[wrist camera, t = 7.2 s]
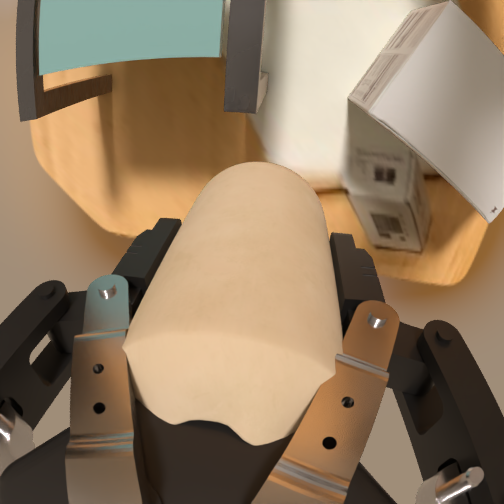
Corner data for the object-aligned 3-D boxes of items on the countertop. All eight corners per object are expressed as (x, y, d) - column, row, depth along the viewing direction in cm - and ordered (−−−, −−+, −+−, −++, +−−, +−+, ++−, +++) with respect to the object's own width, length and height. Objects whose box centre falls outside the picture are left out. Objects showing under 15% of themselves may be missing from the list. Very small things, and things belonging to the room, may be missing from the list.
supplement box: (510, 110, 26) (559, 133, 18) (452, 187, 33) (490, 227, 25) (410, 7, 22) (452, -4, 14) (345, 98, 29) (367, 114, 21)
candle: (306, 143, 12) (337, 393, 3) (335, 259, 14) (358, 486, 6) (176, 181, 13) (39, 391, 5) (222, 281, 16) (171, 485, 8)
